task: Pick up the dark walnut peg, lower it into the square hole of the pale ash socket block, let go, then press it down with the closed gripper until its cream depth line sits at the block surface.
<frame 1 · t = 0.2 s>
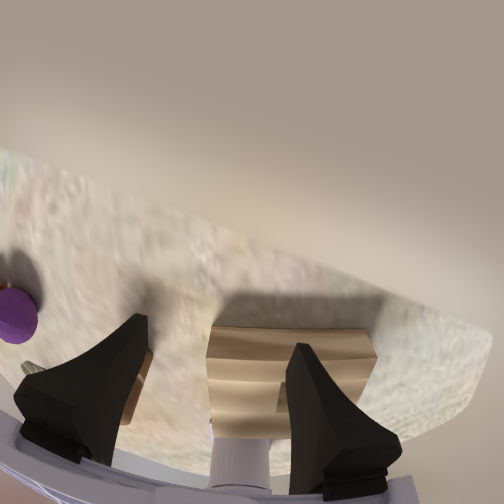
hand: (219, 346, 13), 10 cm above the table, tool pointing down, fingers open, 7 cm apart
socket block: (283, 376, 28), on the table
peg: (136, 352, 27), on the table
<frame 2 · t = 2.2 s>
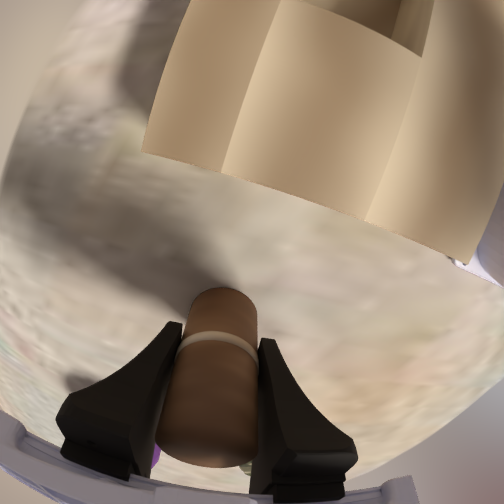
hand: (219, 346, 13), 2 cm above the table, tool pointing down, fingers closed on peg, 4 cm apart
socket block: (364, 47, 10), on the table
peg: (223, 316, 16), on the table, touching gripper
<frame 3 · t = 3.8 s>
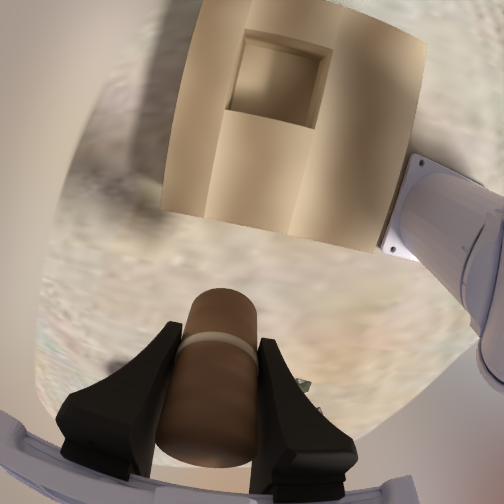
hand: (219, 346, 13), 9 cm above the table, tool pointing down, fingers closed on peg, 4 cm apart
socket block: (292, 112, 18), on the table
peg: (223, 316, 16), point 7 cm above the table, touching gripper
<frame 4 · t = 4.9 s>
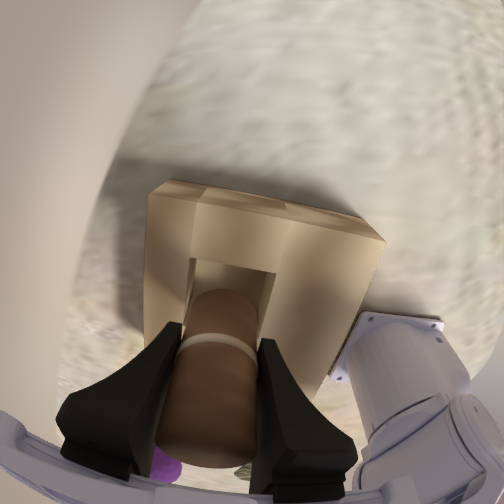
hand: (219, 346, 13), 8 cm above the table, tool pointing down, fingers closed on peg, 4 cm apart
socket block: (248, 291, 21), on the table
peg: (223, 316, 16), point 5 cm above the table, touching gripper
kendama: (149, 459, 35), on the table
when the fingers open (5 cm above the table, at t = 5.7 s): peg drops 2 cm, resting on socket block.
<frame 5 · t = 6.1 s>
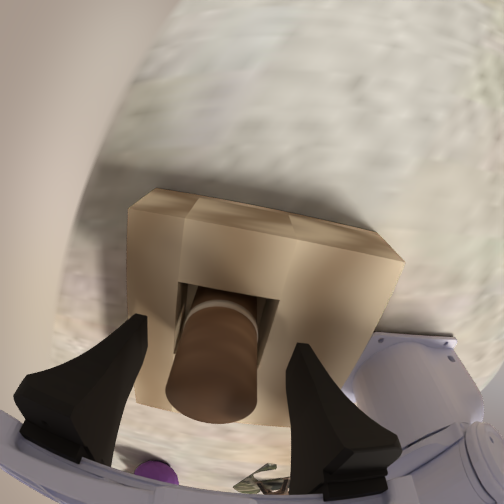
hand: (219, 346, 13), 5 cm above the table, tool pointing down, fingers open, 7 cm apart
socket block: (246, 312, 19), on the table
eiffel tower figurine: (274, 479, 33), on the table
peg: (226, 294, 18), point 1 cm above the table, touching socket block
kendama: (145, 472, 33), on the table
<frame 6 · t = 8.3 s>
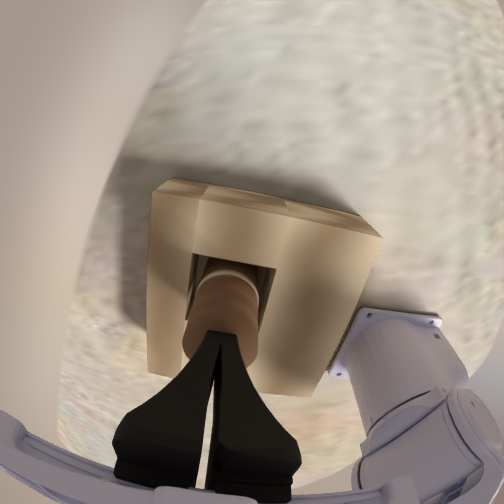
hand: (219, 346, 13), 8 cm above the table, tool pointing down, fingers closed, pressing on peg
socket block: (248, 287, 22), on the table
peg: (231, 269, 21), resting on socket block, touching gripper
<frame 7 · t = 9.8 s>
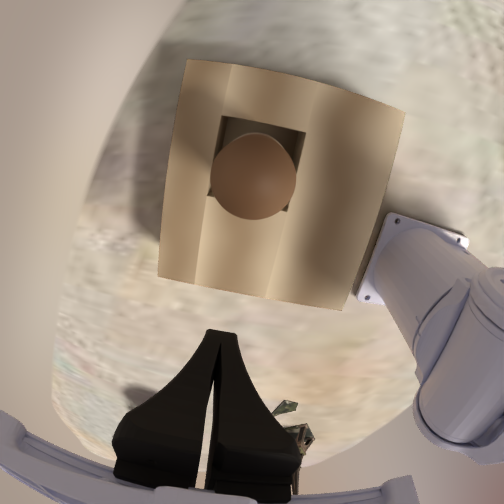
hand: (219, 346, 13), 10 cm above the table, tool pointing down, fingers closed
socket block: (273, 181, 20), on the table
eiffel tower figurine: (289, 430, 35), on the table
peg: (256, 158, 19), resting on socket block
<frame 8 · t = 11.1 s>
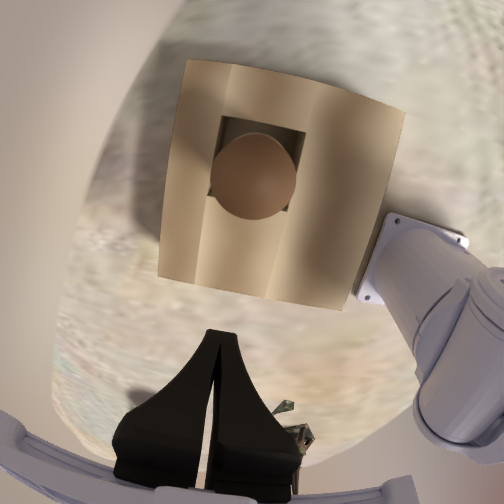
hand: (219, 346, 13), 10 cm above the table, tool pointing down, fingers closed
socket block: (273, 181, 20), on the table
eiffel tower figurine: (289, 430, 35), on the table
peg: (256, 158, 19), resting on socket block
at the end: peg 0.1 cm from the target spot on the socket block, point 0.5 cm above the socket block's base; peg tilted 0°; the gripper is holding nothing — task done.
